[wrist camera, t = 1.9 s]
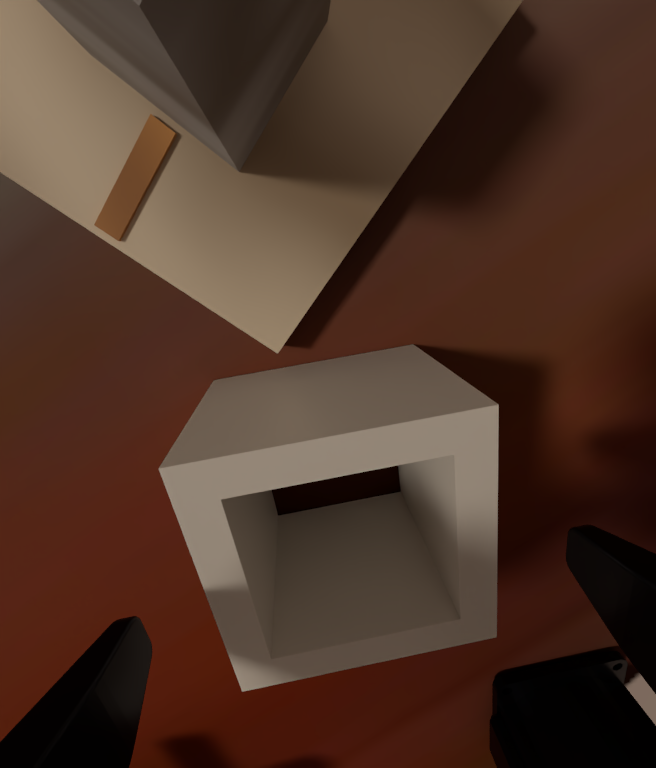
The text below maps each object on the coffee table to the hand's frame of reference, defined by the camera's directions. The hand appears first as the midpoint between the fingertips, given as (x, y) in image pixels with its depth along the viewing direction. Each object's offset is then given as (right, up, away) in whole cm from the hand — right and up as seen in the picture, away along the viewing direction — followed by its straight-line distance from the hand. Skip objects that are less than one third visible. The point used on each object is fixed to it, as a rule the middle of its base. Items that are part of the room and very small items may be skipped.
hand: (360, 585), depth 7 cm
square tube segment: (-1, +2, +5) cm, 5 cm away
